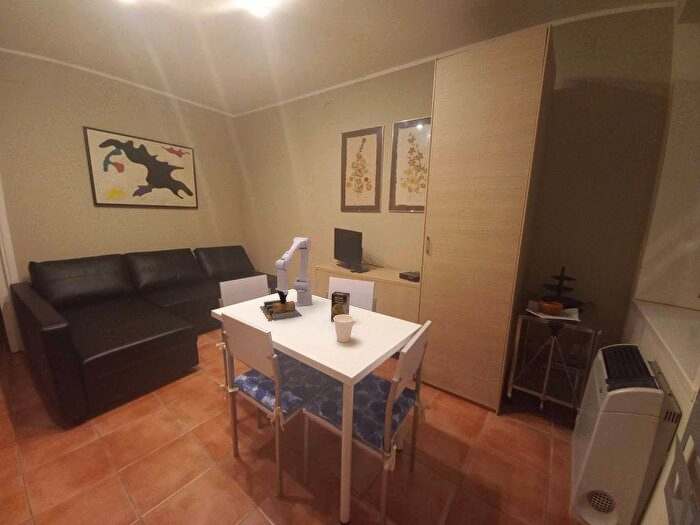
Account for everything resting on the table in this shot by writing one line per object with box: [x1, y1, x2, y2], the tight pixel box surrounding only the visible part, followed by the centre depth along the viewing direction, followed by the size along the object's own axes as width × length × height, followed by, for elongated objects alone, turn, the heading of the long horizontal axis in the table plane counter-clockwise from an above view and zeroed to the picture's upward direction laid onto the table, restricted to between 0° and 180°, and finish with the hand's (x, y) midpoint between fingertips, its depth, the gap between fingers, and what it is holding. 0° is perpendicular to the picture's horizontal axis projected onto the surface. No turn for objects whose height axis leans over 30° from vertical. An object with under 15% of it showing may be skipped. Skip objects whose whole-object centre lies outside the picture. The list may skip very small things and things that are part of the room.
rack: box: [259, 299, 302, 322], centre depth 168 cm, size 19×25×3 cm
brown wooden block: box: [273, 300, 296, 313], centre depth 162 cm, size 12×4×7 cm, turn 118°
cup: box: [333, 314, 355, 343], centre depth 133 cm, size 10×10×11 cm
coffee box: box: [330, 291, 351, 322], centre depth 156 cm, size 9×6×16 cm
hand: (282, 303), depth 161 cm, fingers closed
